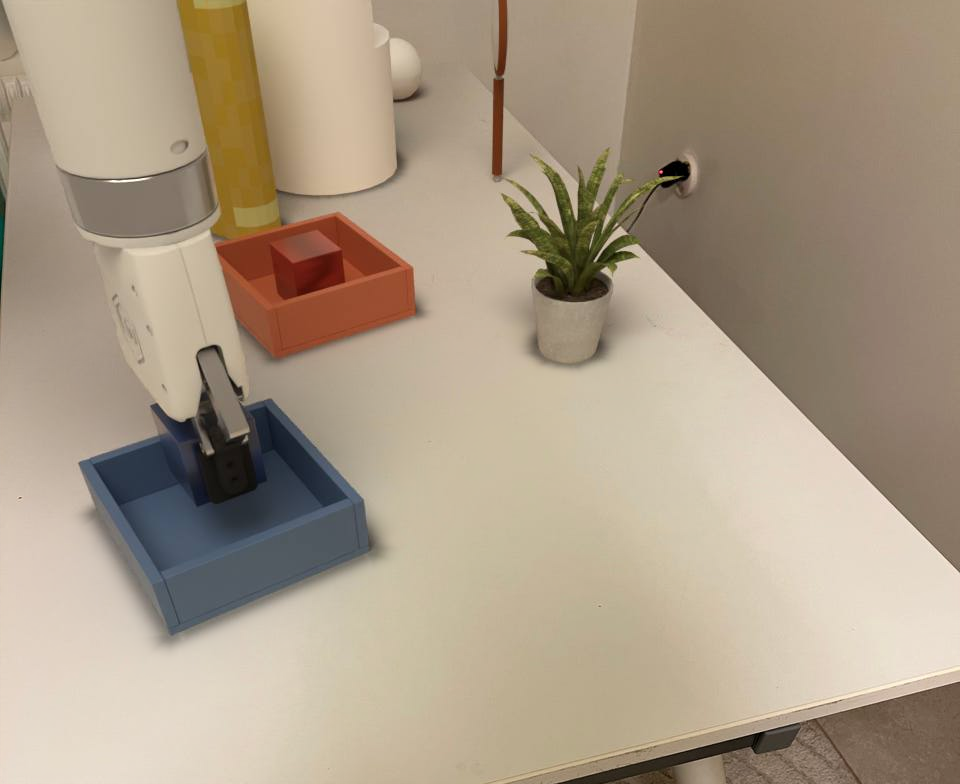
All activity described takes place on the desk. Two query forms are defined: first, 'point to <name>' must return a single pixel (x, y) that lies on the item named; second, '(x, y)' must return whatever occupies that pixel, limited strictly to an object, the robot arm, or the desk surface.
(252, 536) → the blue bin
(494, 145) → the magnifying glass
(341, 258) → the red block
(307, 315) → the red bin
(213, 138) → the book
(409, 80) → the white egg
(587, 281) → the house plant
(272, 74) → the cylinder
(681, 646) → the desk surface
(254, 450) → the blue block
